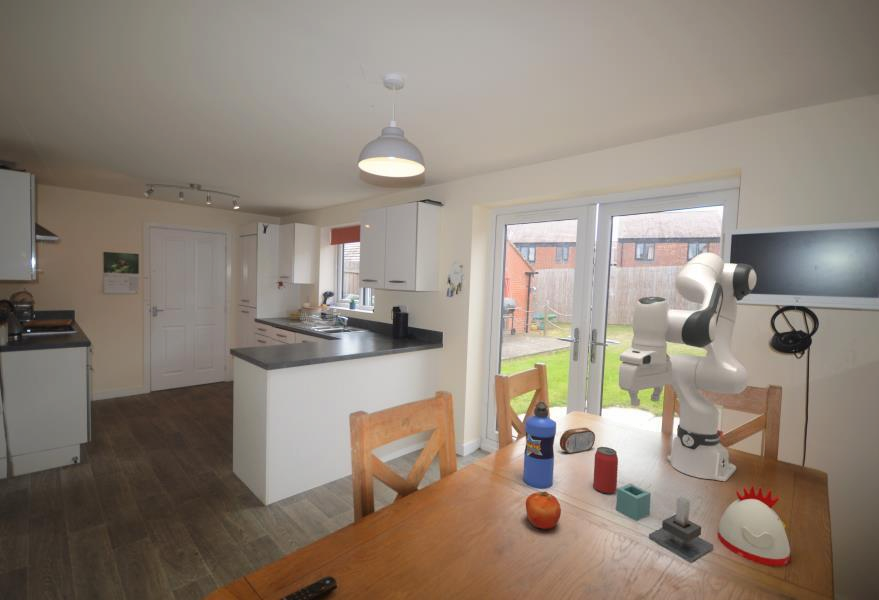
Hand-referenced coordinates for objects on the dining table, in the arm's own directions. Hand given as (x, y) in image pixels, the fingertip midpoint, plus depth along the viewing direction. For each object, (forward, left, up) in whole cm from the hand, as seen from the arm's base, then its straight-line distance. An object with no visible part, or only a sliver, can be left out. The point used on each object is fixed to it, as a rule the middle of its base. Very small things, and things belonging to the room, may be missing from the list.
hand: (645, 403), depth 116 cm
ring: (+8, +16, -26) cm, 32 cm away
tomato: (+32, -6, -29) cm, 44 cm away
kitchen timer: (-7, +25, -29) cm, 39 cm away
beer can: (+2, -10, -29) cm, 31 cm away
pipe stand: (+8, +16, -29) cm, 34 cm away
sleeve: (+6, +2, -29) cm, 30 cm away
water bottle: (+17, -23, -29) cm, 41 cm away
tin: (-13, -33, -29) cm, 46 cm away
